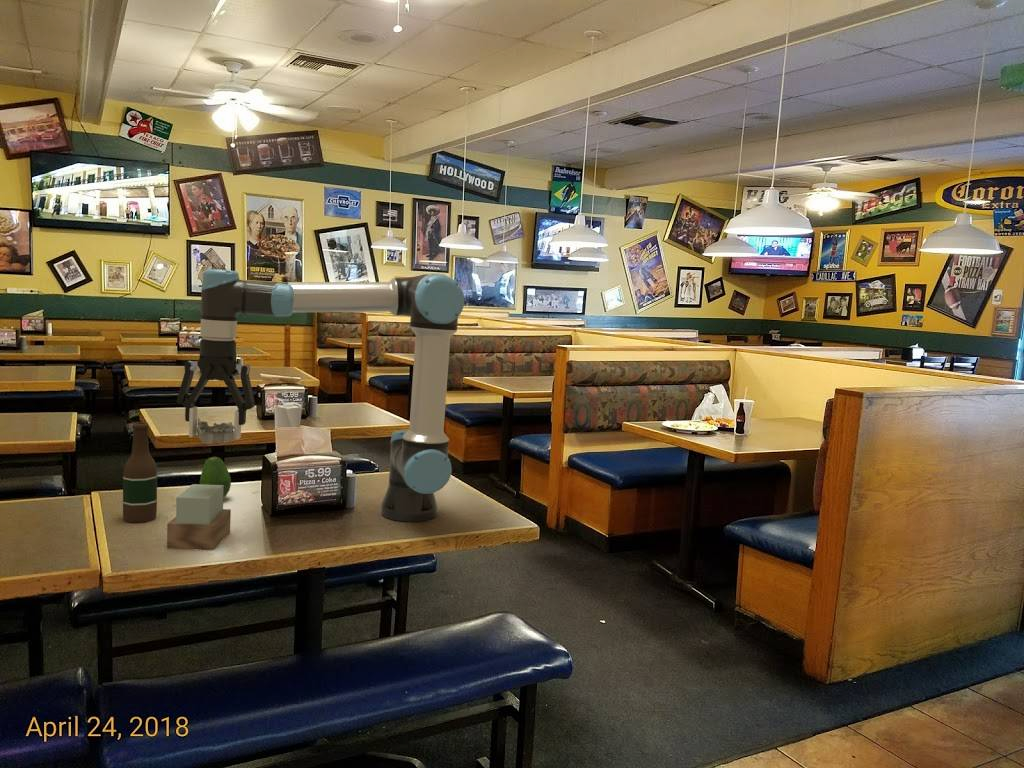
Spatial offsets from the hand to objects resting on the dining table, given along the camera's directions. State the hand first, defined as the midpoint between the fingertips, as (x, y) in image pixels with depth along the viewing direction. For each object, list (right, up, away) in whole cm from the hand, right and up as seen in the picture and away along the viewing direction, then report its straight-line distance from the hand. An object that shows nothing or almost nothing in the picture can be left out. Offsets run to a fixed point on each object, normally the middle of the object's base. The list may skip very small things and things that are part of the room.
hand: (215, 437), depth 163 cm
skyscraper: (+3, -20, +42) cm, 46 cm away
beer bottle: (-24, -21, +14) cm, 35 cm away
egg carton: (0, -1, 0) cm, 1 cm away
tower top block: (-4, -18, +1) cm, 19 cm away
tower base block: (-4, -24, +2) cm, 25 cm away
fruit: (-14, -20, +33) cm, 40 cm away
